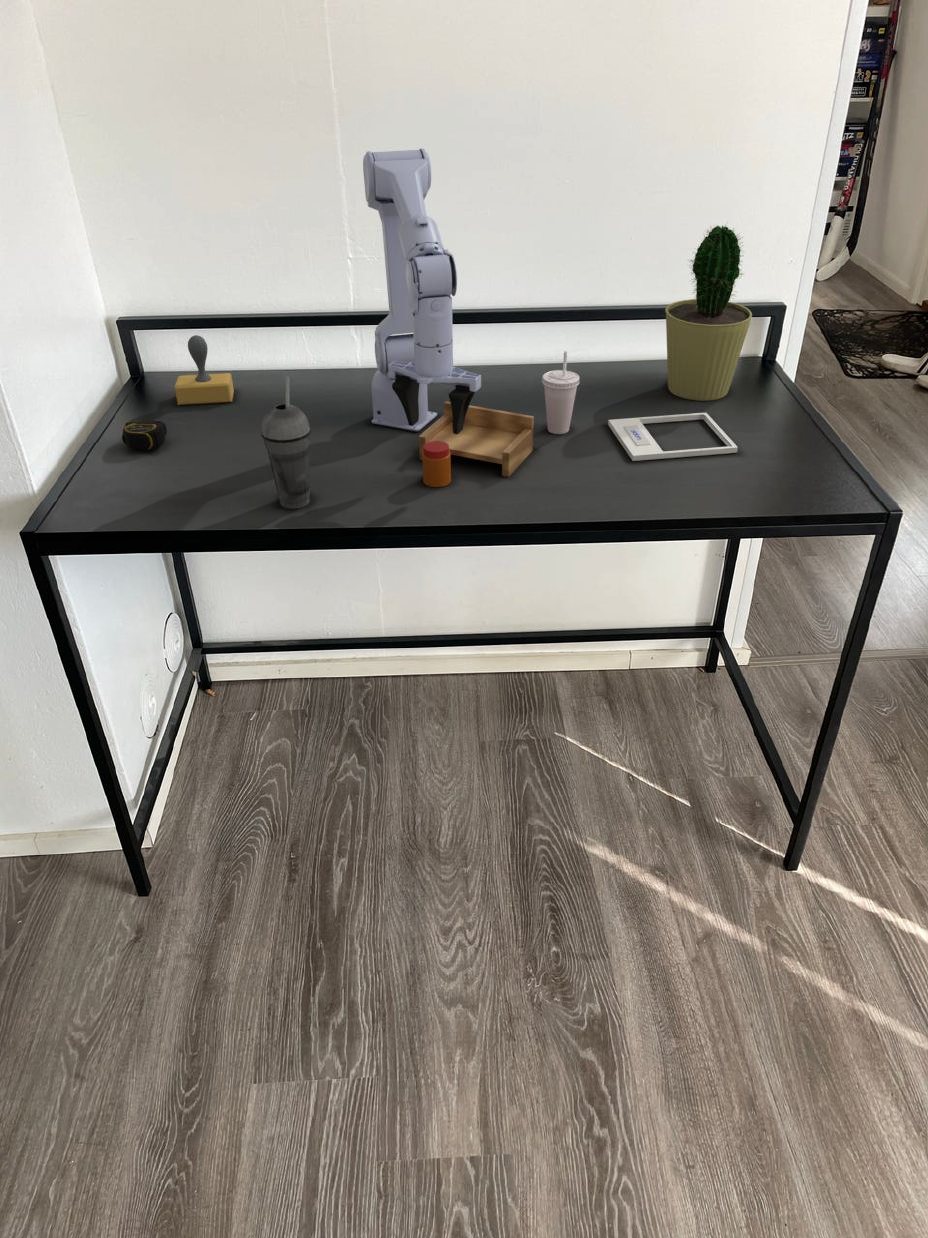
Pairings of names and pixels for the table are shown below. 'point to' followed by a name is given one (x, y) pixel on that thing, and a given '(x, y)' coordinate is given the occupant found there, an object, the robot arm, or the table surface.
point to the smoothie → (560, 397)
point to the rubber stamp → (203, 380)
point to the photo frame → (646, 447)
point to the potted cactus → (707, 322)
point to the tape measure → (144, 434)
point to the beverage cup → (288, 452)
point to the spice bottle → (436, 464)
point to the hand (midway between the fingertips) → (435, 427)
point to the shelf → (485, 436)
